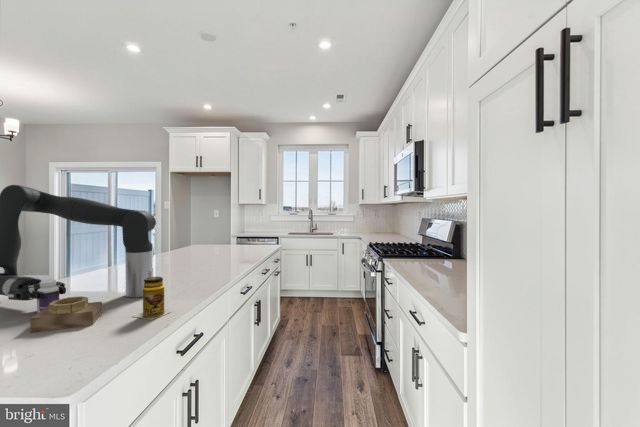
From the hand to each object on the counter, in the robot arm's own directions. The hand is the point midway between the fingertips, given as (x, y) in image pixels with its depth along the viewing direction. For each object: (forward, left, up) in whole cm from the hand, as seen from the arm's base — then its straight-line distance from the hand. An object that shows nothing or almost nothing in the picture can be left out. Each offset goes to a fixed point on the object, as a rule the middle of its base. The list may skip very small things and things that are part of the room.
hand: (53, 293), depth 96 cm
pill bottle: (+2, -2, -6) cm, 7 cm away
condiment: (-29, +12, -7) cm, 32 cm away
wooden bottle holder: (-7, +10, -7) cm, 14 cm away
